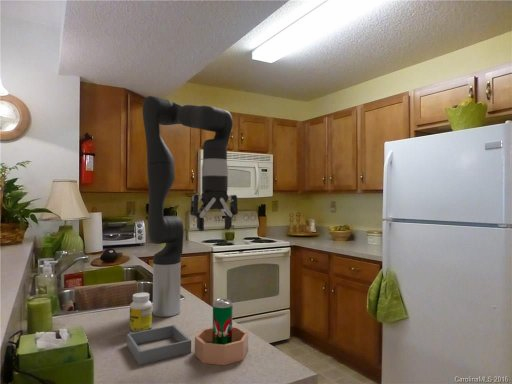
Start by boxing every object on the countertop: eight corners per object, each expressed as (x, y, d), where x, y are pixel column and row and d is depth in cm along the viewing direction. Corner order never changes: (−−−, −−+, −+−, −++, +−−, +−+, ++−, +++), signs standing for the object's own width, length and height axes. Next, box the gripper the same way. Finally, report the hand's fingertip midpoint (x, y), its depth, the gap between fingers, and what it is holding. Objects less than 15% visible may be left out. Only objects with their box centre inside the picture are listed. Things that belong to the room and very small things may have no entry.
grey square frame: (126, 345, 93) (126, 334, 93) (173, 335, 100) (174, 324, 100) (139, 365, 82) (139, 352, 82) (191, 352, 89) (191, 340, 89)
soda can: (232, 344, 91) (233, 298, 92) (231, 352, 86) (232, 304, 87) (213, 344, 91) (213, 298, 92) (211, 352, 86) (211, 304, 86)
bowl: (189, 349, 90) (189, 331, 91) (231, 339, 97) (231, 322, 97) (209, 369, 80) (209, 349, 80) (255, 356, 87) (256, 338, 87)
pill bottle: (125, 332, 102) (125, 294, 102) (144, 326, 106) (145, 290, 107) (136, 338, 98) (136, 298, 98) (155, 332, 102) (156, 294, 102)
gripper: (230, 176, 110) (229, 228, 109) (187, 174, 102) (186, 230, 102) (242, 175, 103) (241, 230, 103) (197, 173, 96) (197, 232, 95)
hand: (214, 230), depth 102 cm, fingers open, 8 cm apart
